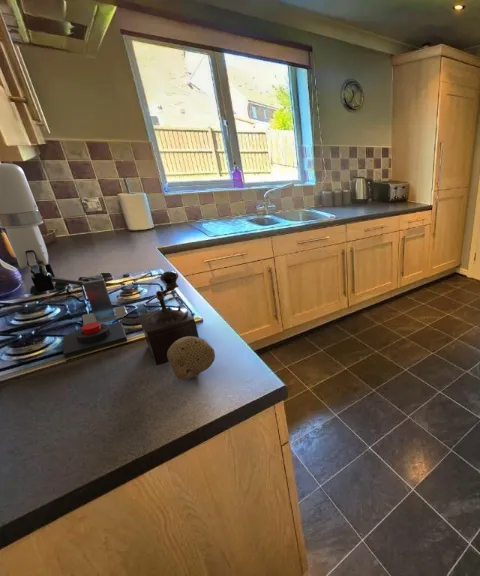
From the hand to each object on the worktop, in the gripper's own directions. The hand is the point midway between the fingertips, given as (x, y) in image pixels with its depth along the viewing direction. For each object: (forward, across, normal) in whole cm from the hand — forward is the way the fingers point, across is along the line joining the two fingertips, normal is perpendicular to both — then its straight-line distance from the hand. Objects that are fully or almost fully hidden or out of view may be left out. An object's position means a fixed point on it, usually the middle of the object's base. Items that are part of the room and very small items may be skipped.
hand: (46, 284), depth 85 cm
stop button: (+10, +14, +6) cm, 18 cm away
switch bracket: (+13, 0, +9) cm, 16 cm away
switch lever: (+2, 0, +4) cm, 4 cm away
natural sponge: (+14, +43, +22) cm, 50 cm away
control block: (+13, +14, +6) cm, 20 cm away
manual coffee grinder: (+14, +26, +21) cm, 36 cm away
